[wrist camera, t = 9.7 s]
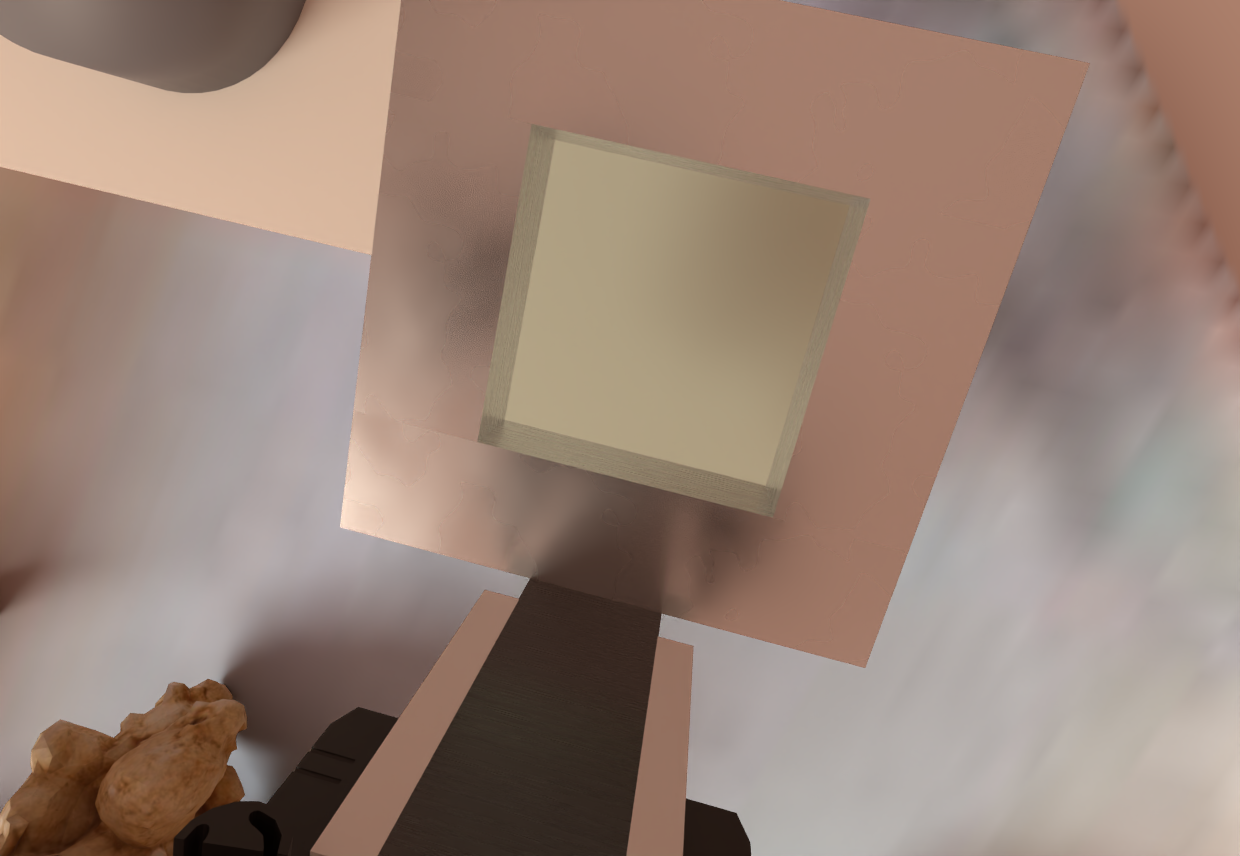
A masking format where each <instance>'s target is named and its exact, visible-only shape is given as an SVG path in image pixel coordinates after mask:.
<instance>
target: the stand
mask: <svg viewBox="0 0 1240 856" xmlns="http://www.w3.org/2000/svg"><path fill="white" fill-rule="evenodd" d="M400 5H401V0H0V167H4V168H8V169H12V170H17V171H21V172H25V173H29V174H33V175H38V176H42V177H46V178H50V179H54V180H59V181H63V182H67V183H71V184H75V185H80V186H84V187H88V188H92V189H96V190H101V191H105V192H109V193H113V194H117V195H122V196H126V197H130V198H134V199H138V200H143V201H147V202H151V203H155V204H159V205H164V206H168V207H172V208H176V209H180V210H185V211H189V212H193V213H197V214H201V215H206V216H210V217H214V218H218V219H222V220H227V221H231V222H235V223H239V224H243V225H248V226H252V227H256V228H260V229H264V230H269V231H273V232H277V233H281V234H285V235H290V236H294V237H298V238H302V239H306V240H311V241H315V242H319V243H323V244H327V245H332V246H336V247H340V248H344V249H348V250H353V251H357V252H361V253H365V254H369V255H372V247H373V238H374V230H375V221H376V212H377V204H378V195H379V186H380V178H381V169H382V160H383V152H384V143H385V135H386V126H387V117H388V109H389V100H390V91H391V83H392V74H393V65H394V57H395V48H396V39H397V31H398V22H399V13H400Z"/></svg>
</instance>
